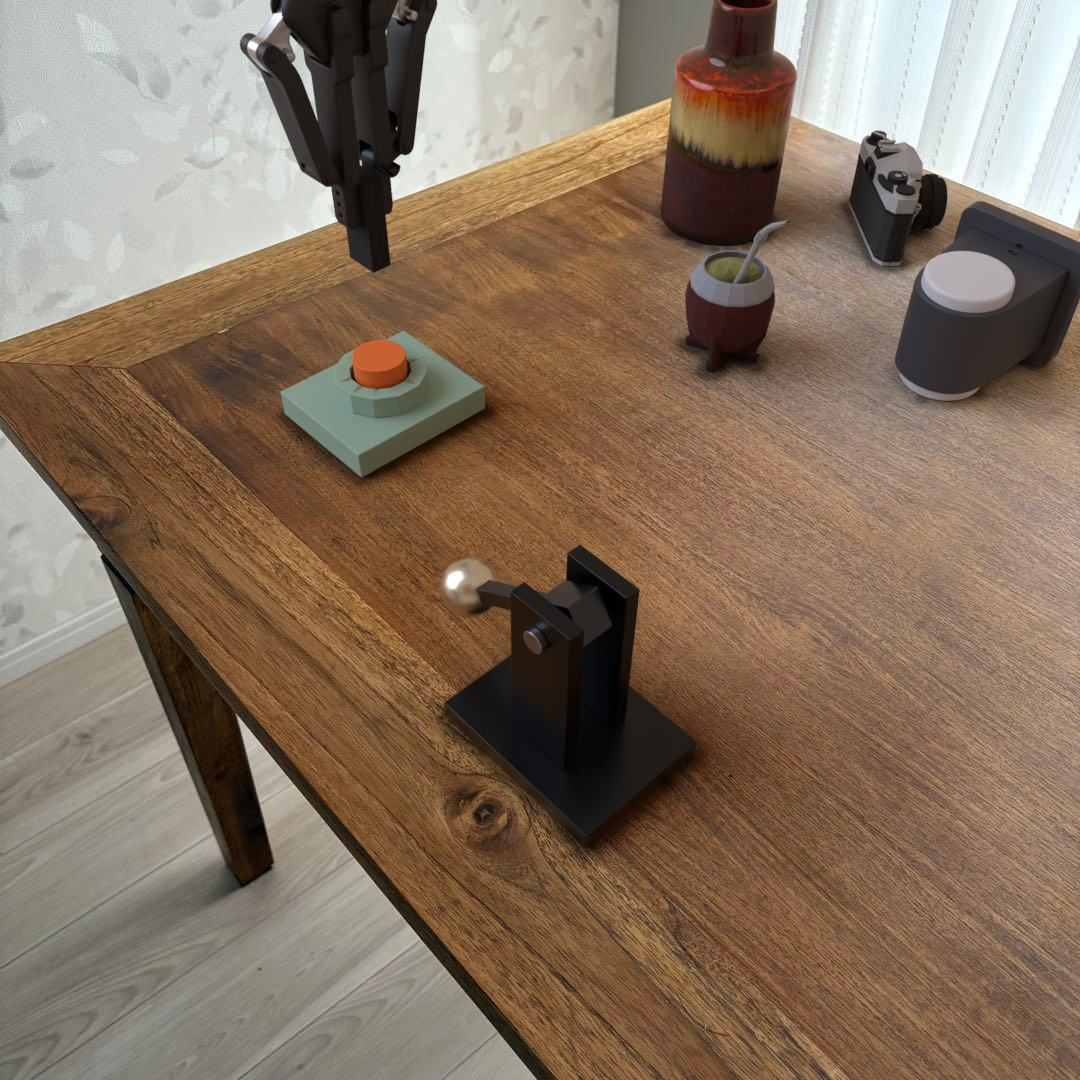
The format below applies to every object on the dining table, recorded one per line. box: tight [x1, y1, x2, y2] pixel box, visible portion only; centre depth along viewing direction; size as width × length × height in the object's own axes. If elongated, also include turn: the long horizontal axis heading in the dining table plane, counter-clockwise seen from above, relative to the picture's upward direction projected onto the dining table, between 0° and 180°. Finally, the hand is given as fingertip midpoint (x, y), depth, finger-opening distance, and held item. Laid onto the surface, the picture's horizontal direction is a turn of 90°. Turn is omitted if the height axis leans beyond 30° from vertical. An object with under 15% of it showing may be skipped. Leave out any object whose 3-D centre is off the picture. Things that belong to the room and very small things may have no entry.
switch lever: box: [439, 556, 613, 647], centre depth 62 cm, size 13×4×4 cm, turn 43°
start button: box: [352, 339, 407, 389], centre depth 83 cm, size 4×4×2 cm
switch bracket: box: [443, 544, 698, 849], centre depth 61 cm, size 12×9×13 cm
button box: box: [280, 330, 486, 478], centre depth 85 cm, size 12×10×4 cm
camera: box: [847, 130, 948, 267], centre depth 104 cm, size 13×8×9 cm, turn 4°
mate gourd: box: [684, 219, 792, 373], centre depth 87 cm, size 8×8×15 cm
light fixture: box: [894, 200, 1080, 402], centre depth 88 cm, size 11×13×11 cm
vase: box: [660, 0, 798, 246], centre depth 101 cm, size 11×11×20 cm
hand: (370, 260), depth 77 cm, fingers closed
